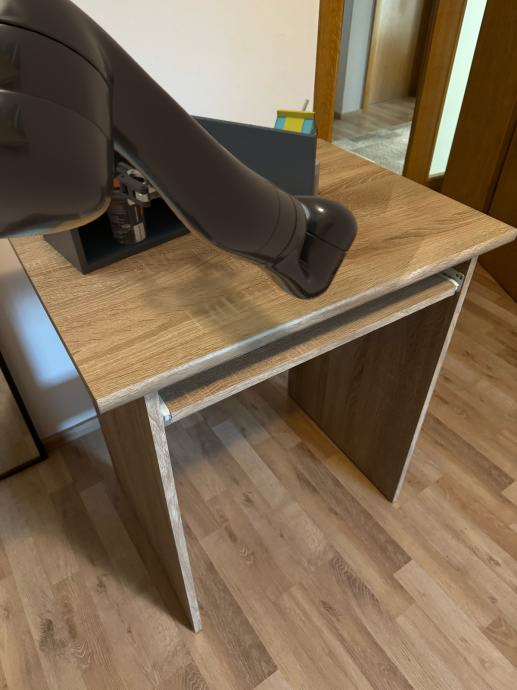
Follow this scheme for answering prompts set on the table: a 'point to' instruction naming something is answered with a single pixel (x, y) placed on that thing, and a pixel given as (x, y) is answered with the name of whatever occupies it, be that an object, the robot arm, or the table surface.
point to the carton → (297, 120)
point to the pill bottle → (126, 217)
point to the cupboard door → (270, 153)
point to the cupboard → (99, 244)
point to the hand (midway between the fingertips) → (146, 162)
